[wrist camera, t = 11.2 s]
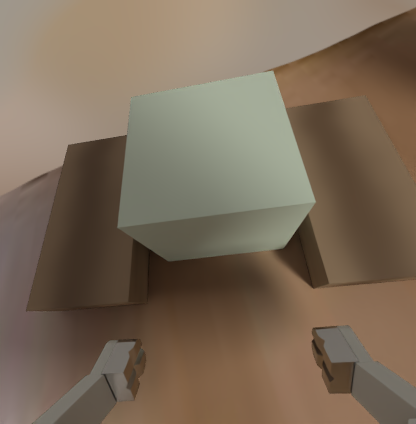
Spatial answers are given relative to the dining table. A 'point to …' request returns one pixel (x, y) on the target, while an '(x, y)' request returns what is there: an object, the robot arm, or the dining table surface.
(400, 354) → the dining table surface
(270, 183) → the sage block
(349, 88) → the dining table surface
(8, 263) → the dining table surface
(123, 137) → the dock block
